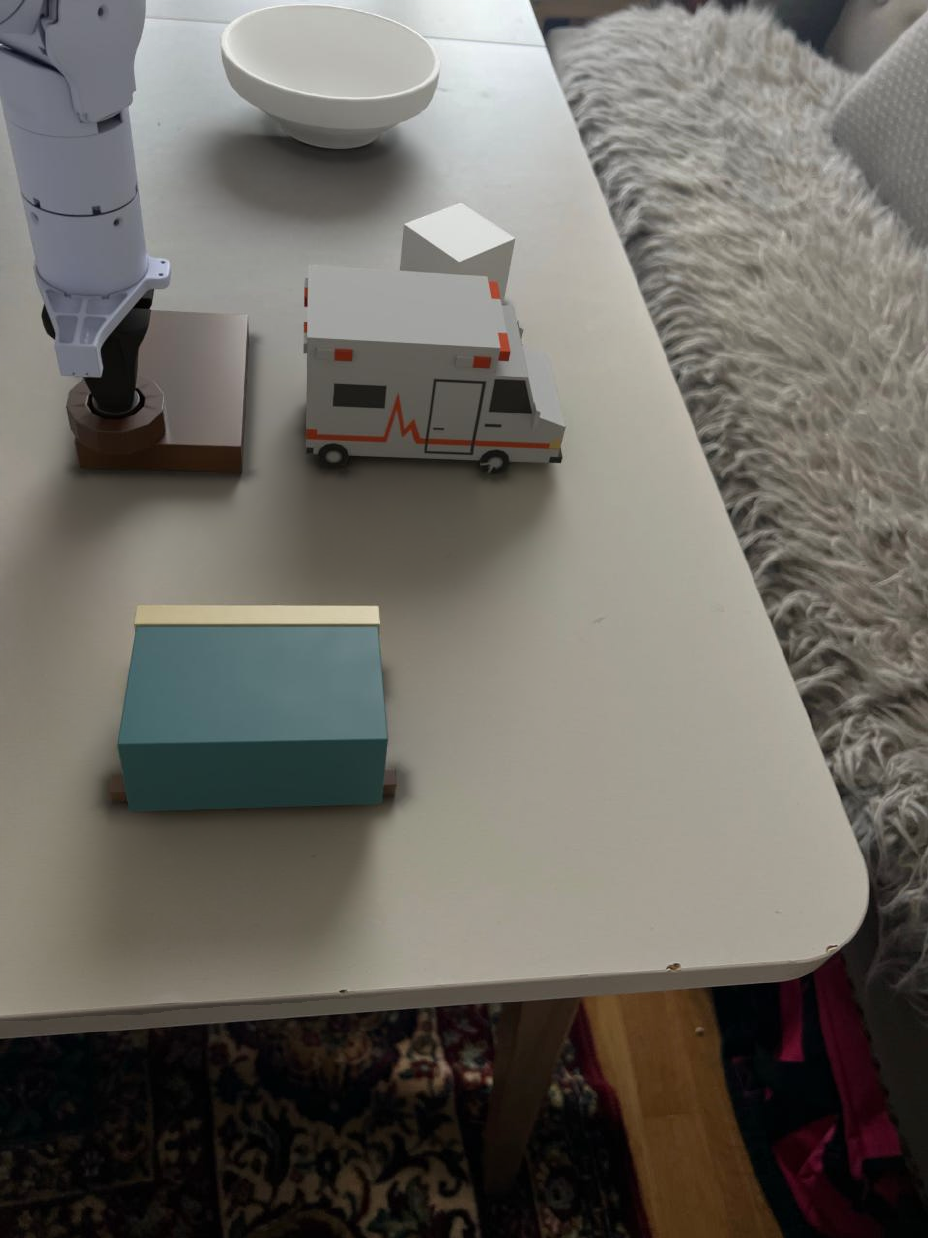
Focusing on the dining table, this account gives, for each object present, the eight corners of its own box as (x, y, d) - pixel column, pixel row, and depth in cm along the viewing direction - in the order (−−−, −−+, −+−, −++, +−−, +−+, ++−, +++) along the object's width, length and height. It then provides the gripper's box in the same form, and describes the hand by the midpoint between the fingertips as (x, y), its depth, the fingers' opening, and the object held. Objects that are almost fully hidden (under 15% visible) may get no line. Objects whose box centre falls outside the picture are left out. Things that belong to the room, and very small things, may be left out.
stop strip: (111, 802, 49) (108, 792, 49) (113, 784, 50) (110, 774, 49) (395, 794, 52) (397, 785, 51) (394, 777, 52) (395, 768, 52)
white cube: (502, 306, 81) (515, 238, 76) (449, 332, 78) (459, 262, 73) (451, 270, 83) (460, 201, 78) (397, 293, 80) (403, 223, 75)
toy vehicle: (560, 484, 68) (594, 363, 61) (302, 475, 66) (303, 347, 58) (541, 394, 74) (569, 273, 67) (303, 382, 72) (304, 255, 64)
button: (93, 435, 62) (88, 412, 61) (98, 405, 64) (94, 383, 62) (140, 436, 62) (137, 414, 61) (144, 407, 64) (141, 385, 63)
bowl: (467, 169, 94) (477, 90, 89) (265, 192, 87) (263, 108, 81) (384, 74, 104) (389, -2, 99) (197, 88, 97) (191, 7, 92)
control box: (71, 479, 63) (60, 429, 60) (101, 333, 72) (92, 283, 69) (241, 483, 64) (239, 435, 61) (249, 340, 74) (247, 292, 71)
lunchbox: (114, 743, 44) (136, 604, 51) (127, 813, 48) (146, 675, 54) (390, 738, 46) (378, 605, 53) (383, 805, 50) (373, 673, 56)
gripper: (148, 272, 47) (174, 482, 58) (172, 125, 56) (191, 330, 67) (-11, 263, 46) (45, 479, 57) (39, 114, 55) (79, 325, 66)
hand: (116, 398), depth 62 cm, fingers closed, pressing on button
